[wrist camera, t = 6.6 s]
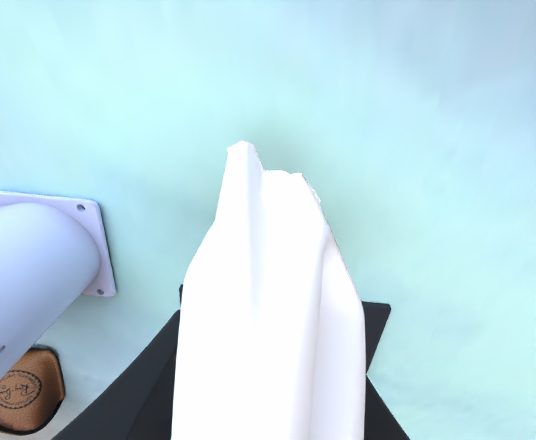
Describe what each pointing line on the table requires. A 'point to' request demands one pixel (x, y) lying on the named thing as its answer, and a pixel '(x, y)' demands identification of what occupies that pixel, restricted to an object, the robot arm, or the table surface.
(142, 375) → the robot arm
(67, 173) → the table surface
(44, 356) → the sunglasses case
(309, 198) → the shaker set
